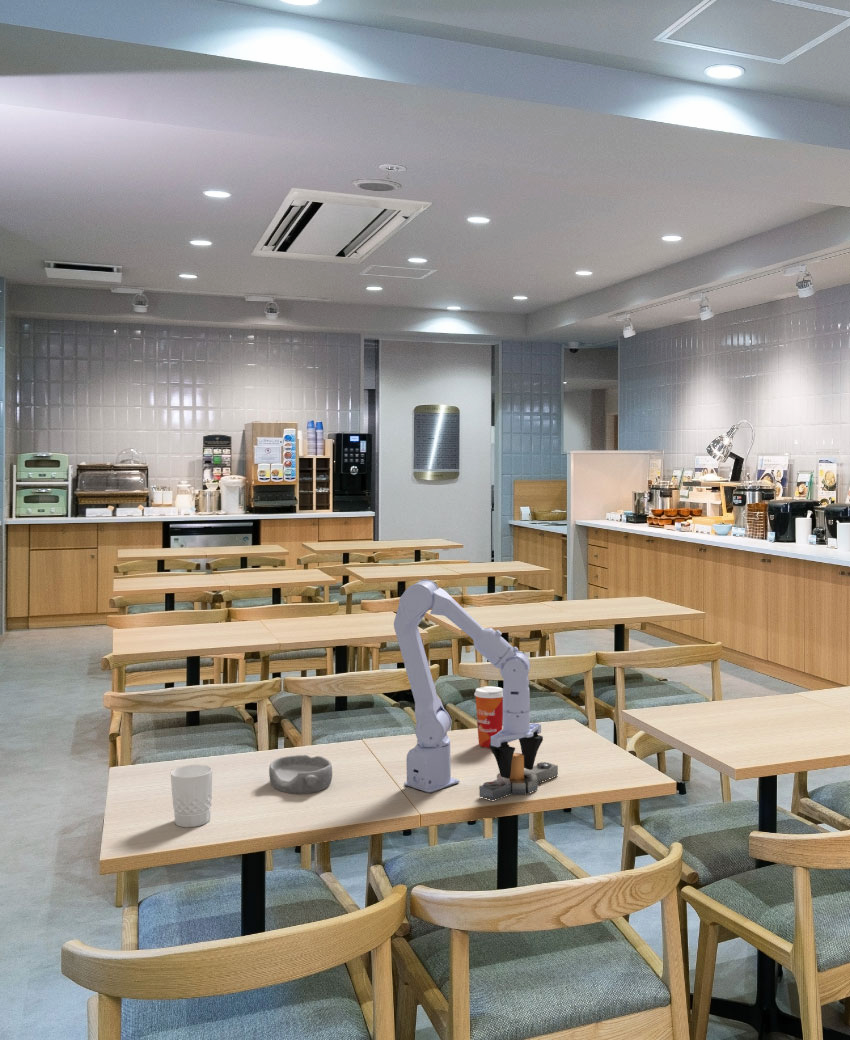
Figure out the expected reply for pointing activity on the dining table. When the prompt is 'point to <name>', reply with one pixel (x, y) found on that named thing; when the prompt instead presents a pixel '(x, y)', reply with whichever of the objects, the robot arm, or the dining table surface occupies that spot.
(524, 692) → the robot arm
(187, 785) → the white cup
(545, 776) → the right chain end
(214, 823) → the dining table surface
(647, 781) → the dining table surface
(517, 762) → the orange pin
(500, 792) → the left chain end
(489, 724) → the paper cup
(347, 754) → the dining table surface
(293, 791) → the dish
